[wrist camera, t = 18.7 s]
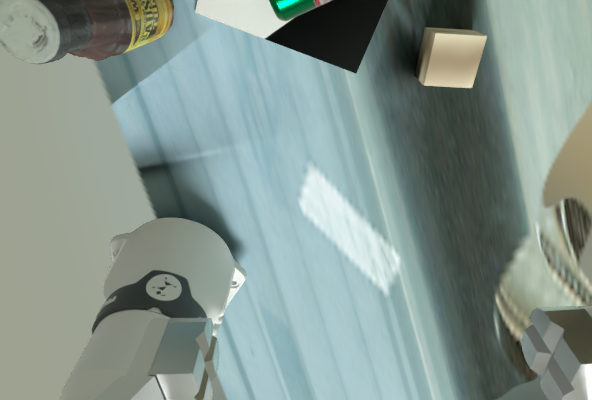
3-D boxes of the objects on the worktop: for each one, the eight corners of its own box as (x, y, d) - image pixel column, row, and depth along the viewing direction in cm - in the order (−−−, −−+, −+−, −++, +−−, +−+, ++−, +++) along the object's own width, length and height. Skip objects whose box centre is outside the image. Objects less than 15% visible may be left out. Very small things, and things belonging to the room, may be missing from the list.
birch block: (458, 77, 43) (472, 88, 40) (414, 75, 43) (423, 85, 40) (471, 29, 40) (487, 36, 37) (424, 26, 40) (435, 33, 37)
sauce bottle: (185, 31, 41) (104, 83, 24) (130, 43, 41) (14, 102, 25) (162, -41, 37) (48, -39, 20) (103, -26, 38) (-55, -13, 21)
